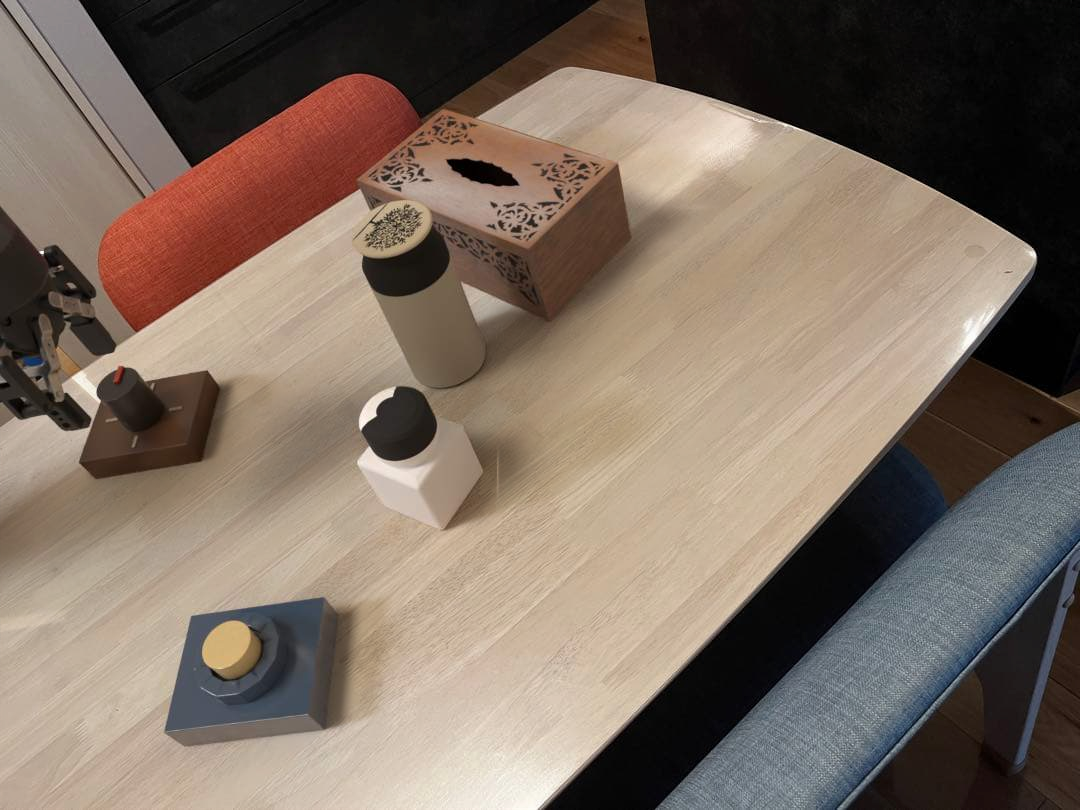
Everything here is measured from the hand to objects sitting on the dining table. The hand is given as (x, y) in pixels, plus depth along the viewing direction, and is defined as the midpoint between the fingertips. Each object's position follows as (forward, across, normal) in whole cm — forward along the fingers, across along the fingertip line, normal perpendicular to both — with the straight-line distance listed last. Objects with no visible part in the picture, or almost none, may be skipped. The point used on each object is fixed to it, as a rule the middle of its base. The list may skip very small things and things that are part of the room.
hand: (94, 387), depth 78 cm
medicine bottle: (+17, +5, +25) cm, 31 cm away
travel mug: (+17, -11, +27) cm, 33 cm away
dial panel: (+16, -9, -6) cm, 19 cm away
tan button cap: (+12, +21, +11) cm, 26 cm away
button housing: (+16, +21, +11) cm, 29 cm away
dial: (+13, -9, -5) cm, 17 cm away
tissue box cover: (+17, -28, +33) cm, 46 cm away
